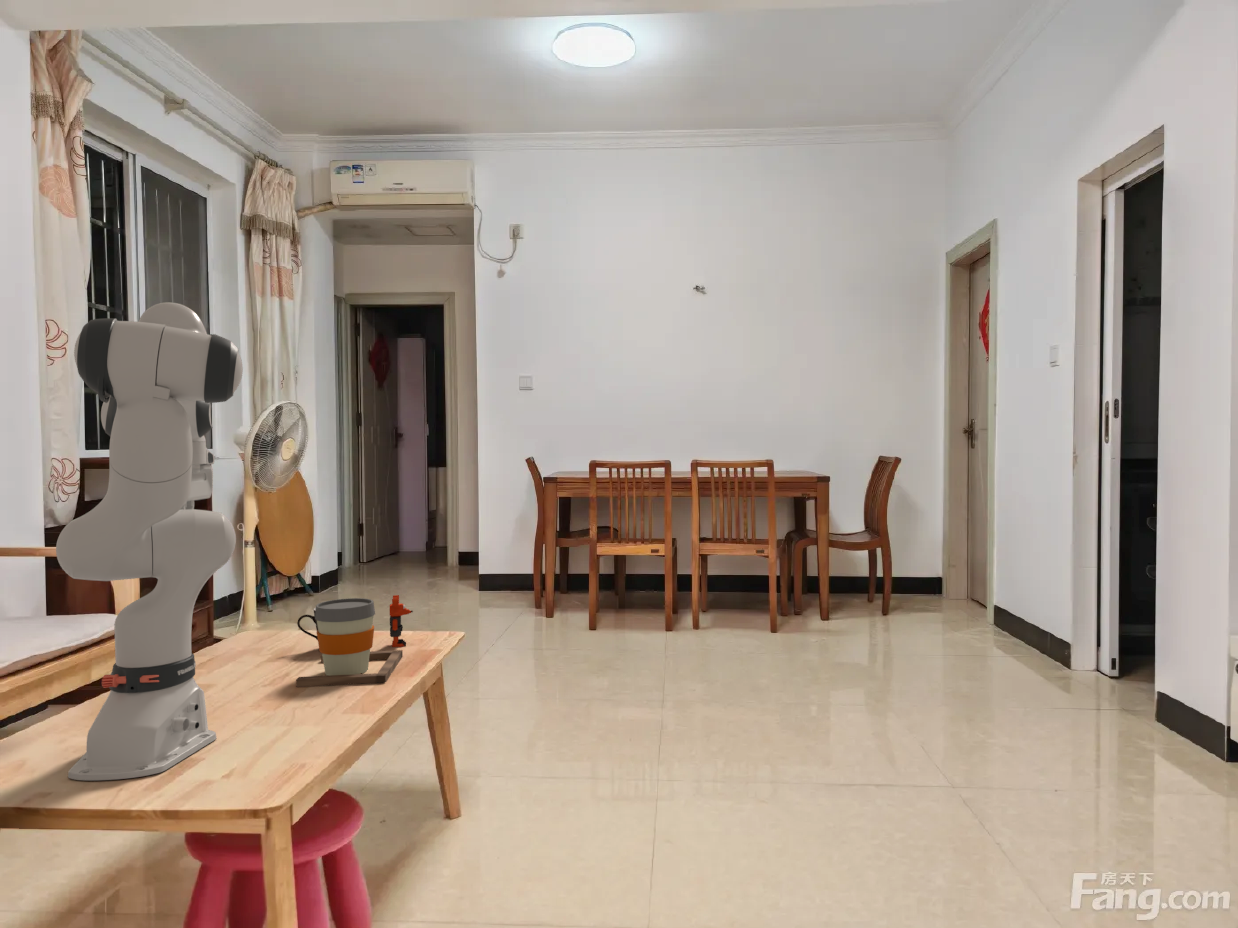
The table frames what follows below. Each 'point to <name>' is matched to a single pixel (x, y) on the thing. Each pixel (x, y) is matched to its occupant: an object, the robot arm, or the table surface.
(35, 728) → the table surface
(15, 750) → the table surface
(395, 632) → the toy animal
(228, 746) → the table surface
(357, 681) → the walnut bay
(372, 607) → the reusable coffee cup
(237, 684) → the table surface
